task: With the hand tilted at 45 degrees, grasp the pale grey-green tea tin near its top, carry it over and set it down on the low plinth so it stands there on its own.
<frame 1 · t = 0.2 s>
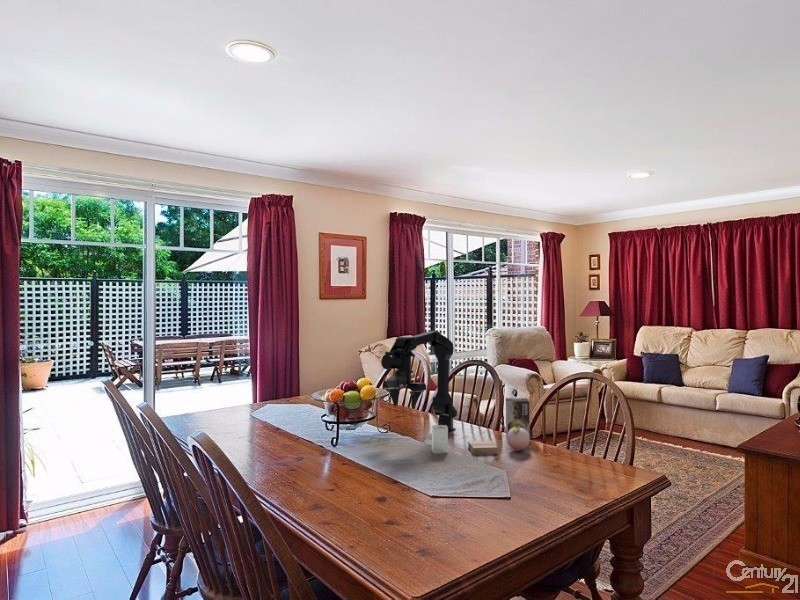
hand: (404, 407, 204), 14 cm above the table, fingers open, 9 cm apart
plinth: (482, 450, 193), on the table
decorative fruit: (518, 451, 192), on the table
tea tin: (439, 451, 192), on the table
coffee box: (517, 438, 211), on the table
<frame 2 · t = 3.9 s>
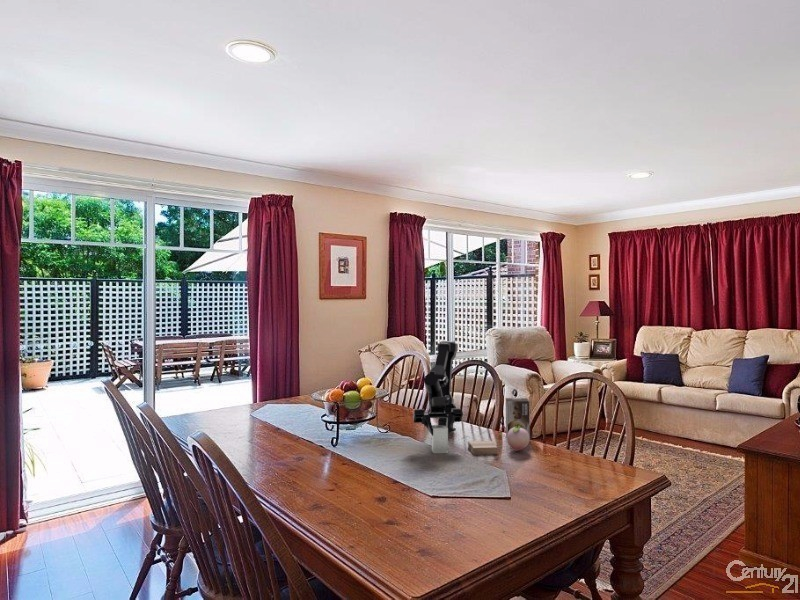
hand: (440, 435, 191), 7 cm above the table, fingers closed on tea tin, 5 cm apart
tea tin: (439, 451, 192), on the table, touching gripper
everything else where it was.
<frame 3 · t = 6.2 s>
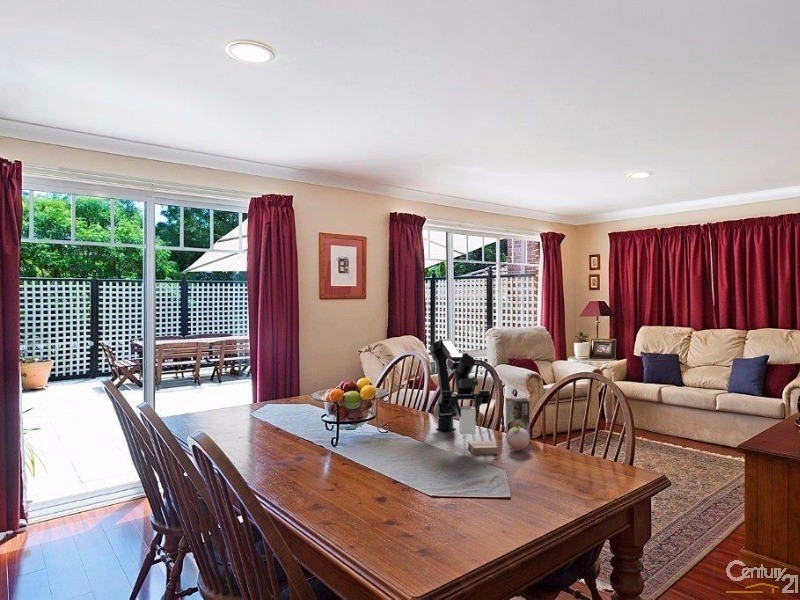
hand: (468, 416, 191), 14 cm above the table, fingers closed on tea tin, 5 cm apart
tea tin: (467, 432, 193), point 7 cm above the table, touching gripper
everything else where it was.
when the fingers open (9 cm above the table, at t = 8.5 s): tea tin stays where it is, resting on plinth.
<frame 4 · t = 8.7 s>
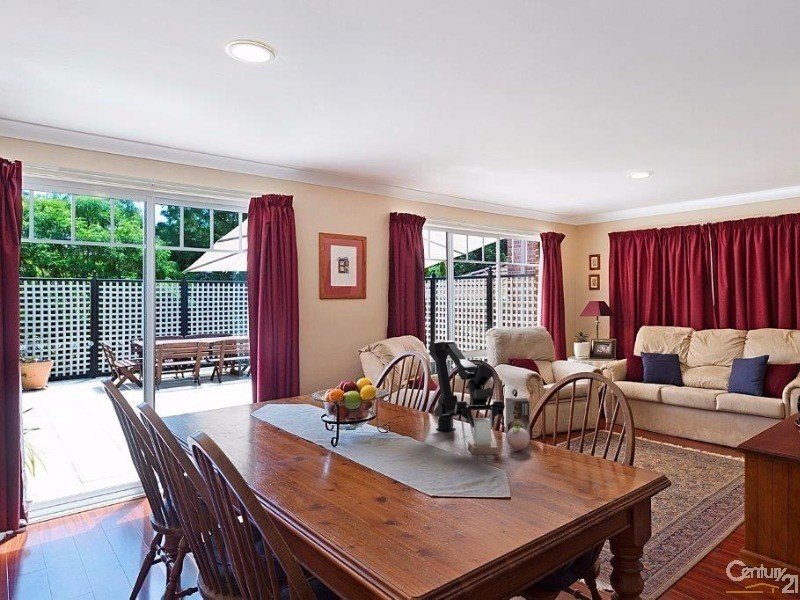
hand: (483, 427, 192), 9 cm above the table, fingers open, 7 cm apart
tea tin: (482, 444, 193), point 2 cm above the table, touching plinth
everything else where it was.
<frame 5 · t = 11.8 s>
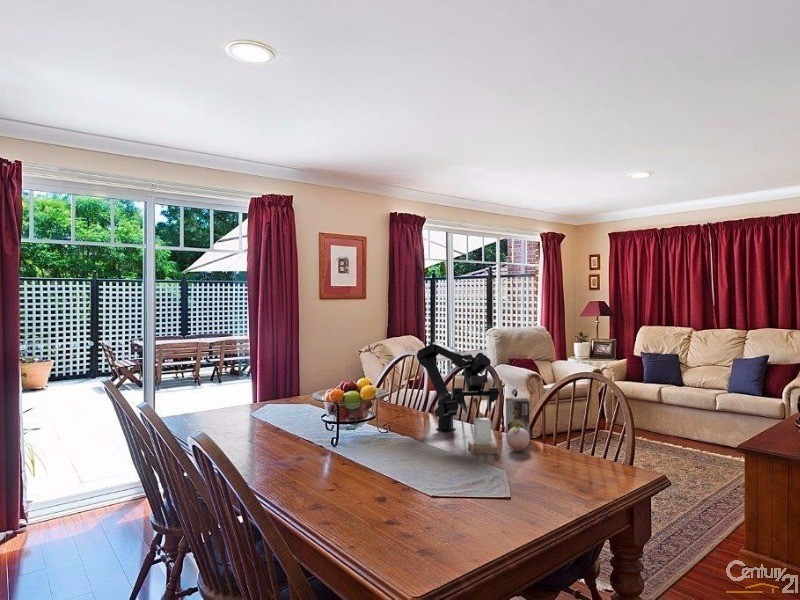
hand: (478, 412, 199), 13 cm above the table, fingers open, 9 cm apart
nothing on the table moved.
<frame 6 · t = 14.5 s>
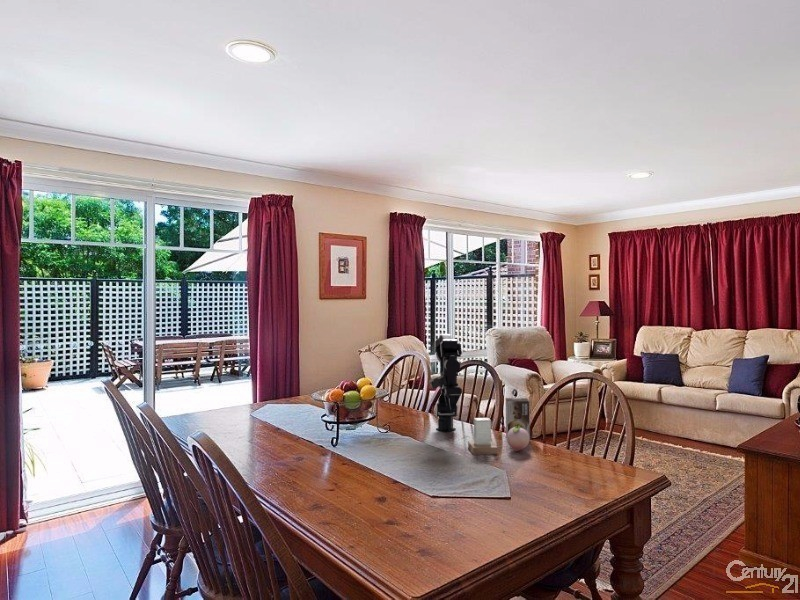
hand: (450, 408, 208), 13 cm above the table, fingers open, 9 cm apart
nothing on the table moved.
at the end: tea tin 0.0 cm off-centre on the plinth, point 2.5 cm above the plinth's base; tea tin tilted 0°; the gripper is holding nothing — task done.
